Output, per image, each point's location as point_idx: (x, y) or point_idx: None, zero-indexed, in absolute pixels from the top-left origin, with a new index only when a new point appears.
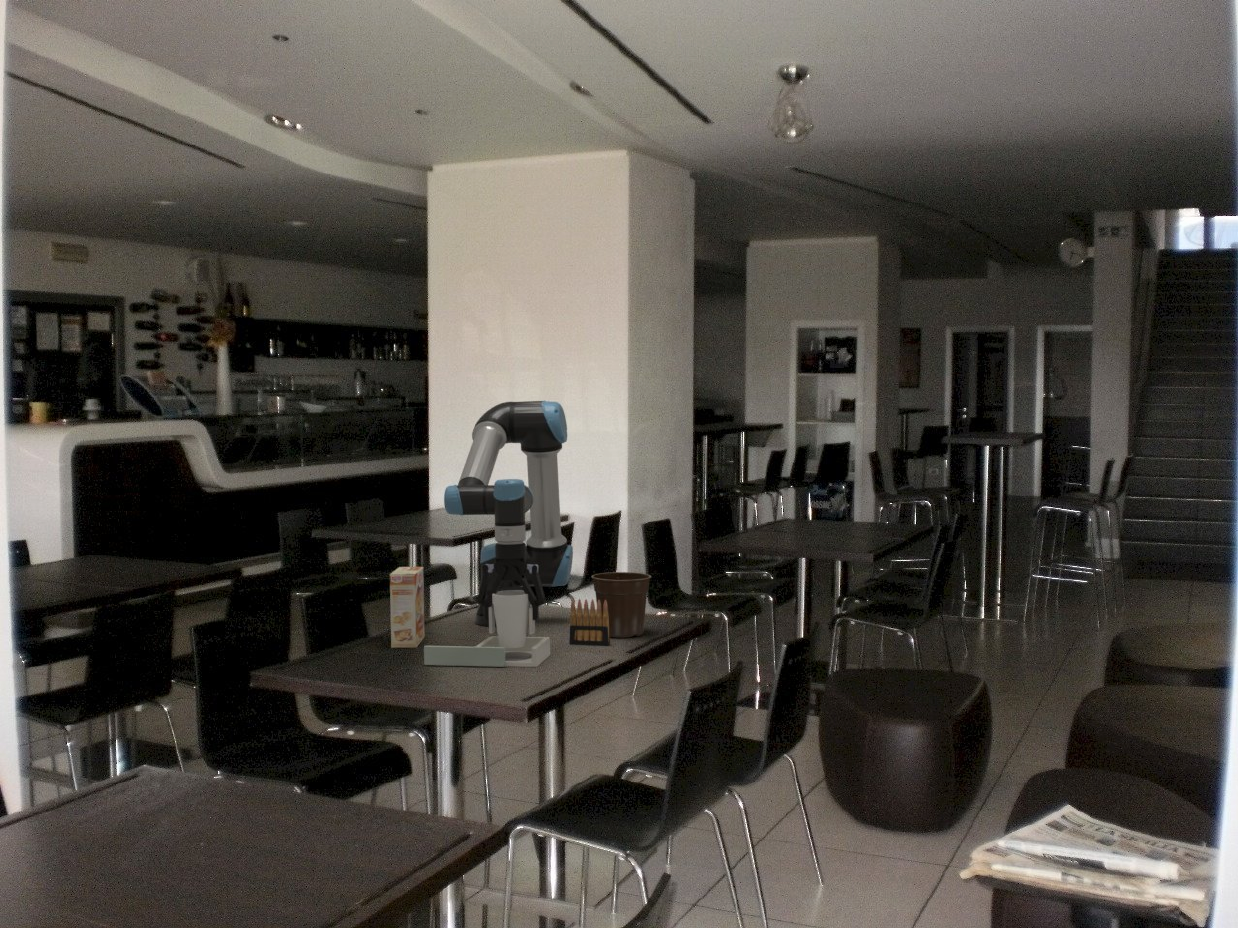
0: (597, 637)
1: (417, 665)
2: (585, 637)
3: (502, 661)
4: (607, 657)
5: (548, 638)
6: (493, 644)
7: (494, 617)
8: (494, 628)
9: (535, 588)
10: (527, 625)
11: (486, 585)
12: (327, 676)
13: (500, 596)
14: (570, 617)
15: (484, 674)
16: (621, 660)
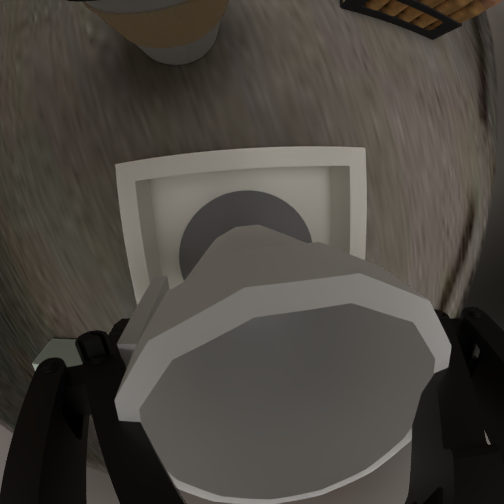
0: (422, 22)
1: (44, 344)
2: (393, 11)
3: None
4: (464, 174)
5: (365, 171)
6: (143, 187)
7: (154, 310)
8: (165, 290)
9: (483, 422)
10: (227, 3)
11: (72, 493)
12: (5, 412)
13: (251, 500)
14: None
15: None
16: (484, 205)
